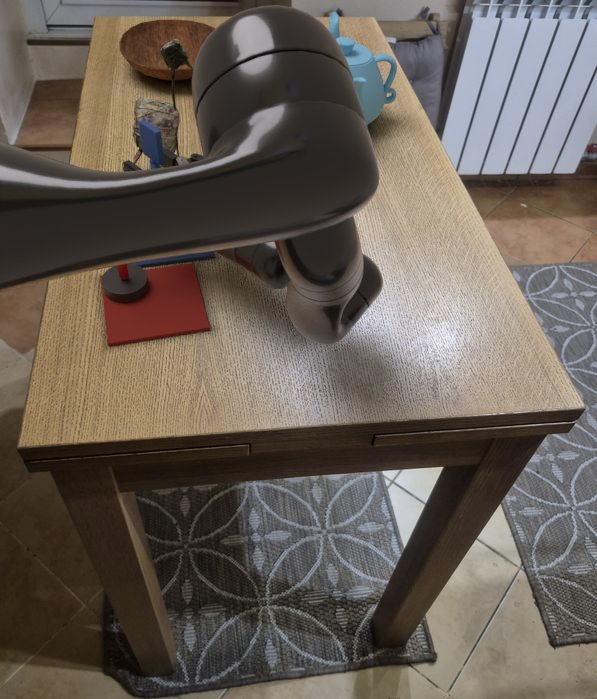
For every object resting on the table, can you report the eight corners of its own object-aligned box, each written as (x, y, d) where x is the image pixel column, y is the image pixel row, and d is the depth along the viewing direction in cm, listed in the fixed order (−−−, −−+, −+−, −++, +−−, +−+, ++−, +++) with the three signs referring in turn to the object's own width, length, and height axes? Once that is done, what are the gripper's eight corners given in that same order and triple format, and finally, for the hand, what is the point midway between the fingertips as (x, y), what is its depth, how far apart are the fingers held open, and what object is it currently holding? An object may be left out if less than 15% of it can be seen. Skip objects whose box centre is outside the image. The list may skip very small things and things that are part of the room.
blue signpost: (160, 251, 83) (144, 143, 71) (134, 231, 85) (115, 124, 73) (192, 234, 86) (183, 127, 74) (167, 215, 88) (154, 109, 76)
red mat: (108, 347, 72) (107, 343, 72) (101, 278, 79) (100, 275, 79) (210, 330, 75) (209, 327, 74) (193, 266, 82) (193, 262, 82)
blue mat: (124, 270, 81) (123, 267, 80) (115, 215, 88) (115, 212, 88) (214, 258, 83) (214, 255, 83) (199, 205, 91) (198, 202, 90)
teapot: (326, 87, 118) (333, 9, 107) (408, 127, 110) (425, 47, 99) (266, 115, 109) (269, 33, 99) (351, 161, 101) (363, 77, 91)
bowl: (117, 96, 110) (113, 68, 107) (127, 42, 125) (124, 16, 121) (227, 97, 113) (226, 70, 109) (225, 45, 127) (224, 19, 123)
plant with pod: (140, 159, 98) (121, 28, 83) (211, 166, 98) (205, 36, 83) (127, 189, 92) (104, 54, 77) (202, 196, 92) (194, 62, 77)
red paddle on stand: (121, 310, 75) (97, 200, 63) (94, 286, 78) (66, 177, 66) (158, 288, 78) (142, 180, 66) (131, 266, 80) (111, 158, 68)
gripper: (275, 172, 73) (183, 115, 80) (180, 222, 65) (88, 154, 73) (273, 224, 78) (187, 166, 85) (185, 274, 71) (99, 206, 78)
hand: (142, 160), depth 79 cm, fingers open, 4 cm apart
